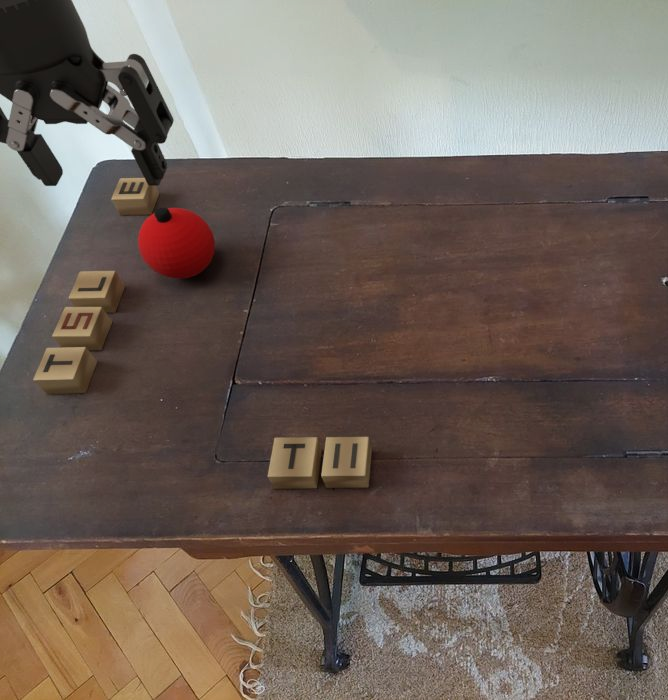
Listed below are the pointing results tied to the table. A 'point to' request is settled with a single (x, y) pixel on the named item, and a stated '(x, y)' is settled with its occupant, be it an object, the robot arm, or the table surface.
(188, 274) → the ornament
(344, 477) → the near tile
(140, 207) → the far tile
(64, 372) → the letter t tile
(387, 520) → the table surface
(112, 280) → the letter l tile
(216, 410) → the table surface
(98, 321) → the tile
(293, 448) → the near tile
